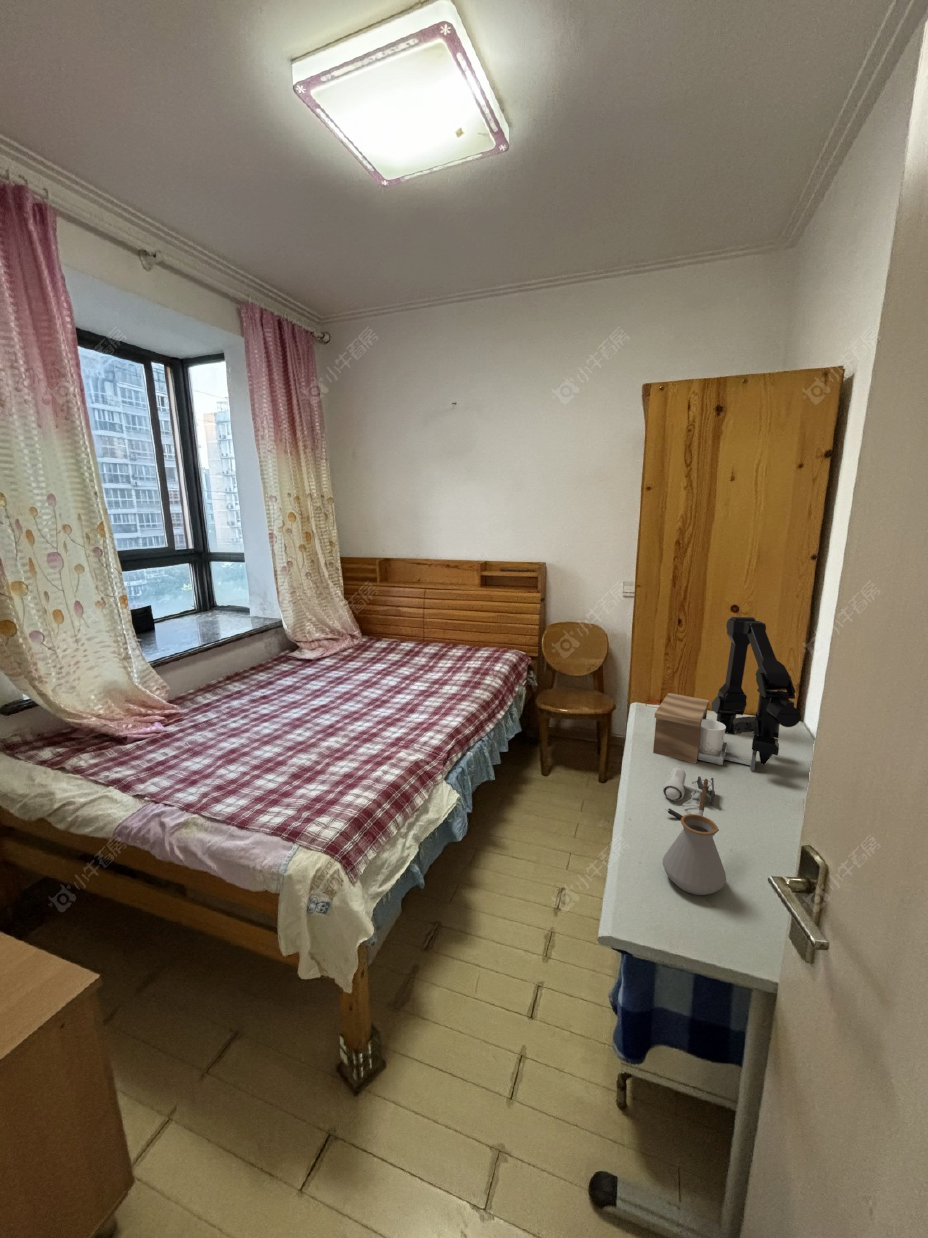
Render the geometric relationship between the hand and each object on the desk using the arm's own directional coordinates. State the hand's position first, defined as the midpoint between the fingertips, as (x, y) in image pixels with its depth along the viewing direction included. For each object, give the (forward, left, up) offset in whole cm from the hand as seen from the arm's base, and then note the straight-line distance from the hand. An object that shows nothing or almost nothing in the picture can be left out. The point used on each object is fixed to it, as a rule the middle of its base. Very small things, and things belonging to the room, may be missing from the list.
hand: (762, 763), depth 144 cm
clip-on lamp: (+31, -15, -2) cm, 35 cm away
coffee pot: (+55, -10, -2) cm, 56 cm away
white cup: (0, -14, -2) cm, 14 cm away
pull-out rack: (0, -10, -1) cm, 10 cm away
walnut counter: (0, -22, -1) cm, 23 cm away
